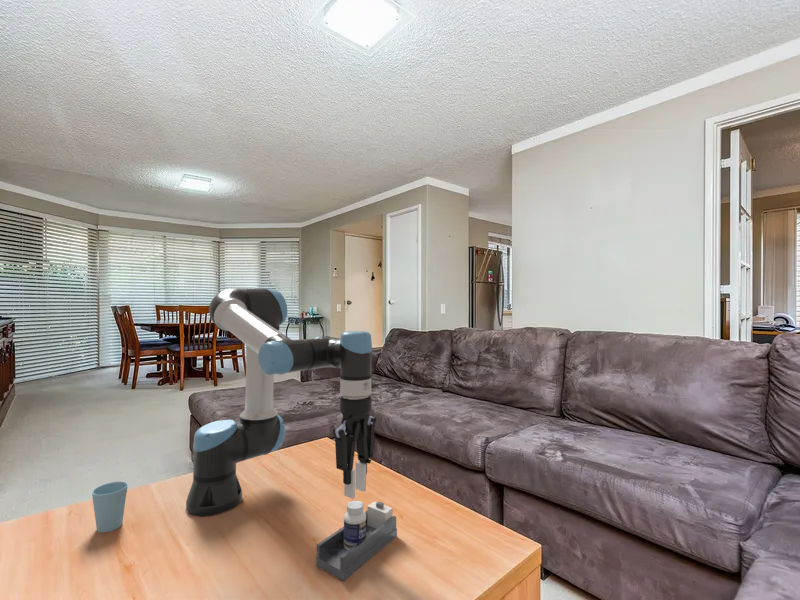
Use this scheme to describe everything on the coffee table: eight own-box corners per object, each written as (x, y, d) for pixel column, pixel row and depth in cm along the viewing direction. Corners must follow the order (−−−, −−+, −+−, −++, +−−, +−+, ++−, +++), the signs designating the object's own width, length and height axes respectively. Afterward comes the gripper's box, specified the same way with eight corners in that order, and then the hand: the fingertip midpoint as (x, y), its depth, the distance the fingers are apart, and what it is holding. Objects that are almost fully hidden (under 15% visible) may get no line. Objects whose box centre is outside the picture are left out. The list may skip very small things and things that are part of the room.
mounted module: (367, 525, 102) (367, 502, 102) (374, 520, 105) (374, 497, 105) (385, 532, 99) (385, 509, 99) (392, 527, 101) (392, 504, 101)
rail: (316, 566, 89) (316, 544, 89) (371, 525, 106) (371, 506, 106) (343, 581, 84) (343, 558, 84) (396, 536, 101) (396, 516, 101)
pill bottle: (362, 553, 91) (362, 511, 91) (340, 550, 92) (340, 509, 92) (368, 539, 96) (369, 500, 96) (348, 537, 97) (348, 497, 97)
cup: (133, 517, 109) (133, 480, 109) (118, 533, 101) (118, 493, 101) (102, 520, 108) (102, 482, 108) (85, 536, 100) (85, 496, 100)
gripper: (344, 405, 85) (343, 512, 85) (388, 391, 99) (388, 484, 99) (319, 400, 90) (319, 502, 89) (365, 387, 103) (365, 476, 103)
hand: (355, 492), depth 94 cm, fingers open, 3 cm apart
